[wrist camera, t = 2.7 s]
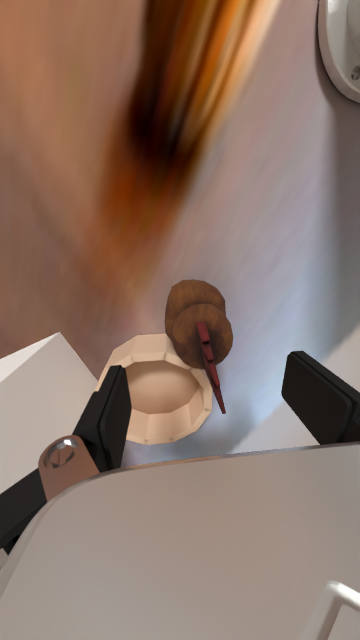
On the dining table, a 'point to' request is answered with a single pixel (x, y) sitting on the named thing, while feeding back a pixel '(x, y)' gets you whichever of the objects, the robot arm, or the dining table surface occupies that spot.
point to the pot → (161, 390)
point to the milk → (39, 403)
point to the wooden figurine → (199, 328)
